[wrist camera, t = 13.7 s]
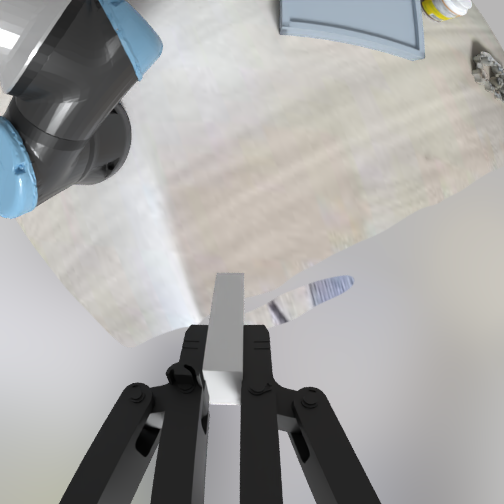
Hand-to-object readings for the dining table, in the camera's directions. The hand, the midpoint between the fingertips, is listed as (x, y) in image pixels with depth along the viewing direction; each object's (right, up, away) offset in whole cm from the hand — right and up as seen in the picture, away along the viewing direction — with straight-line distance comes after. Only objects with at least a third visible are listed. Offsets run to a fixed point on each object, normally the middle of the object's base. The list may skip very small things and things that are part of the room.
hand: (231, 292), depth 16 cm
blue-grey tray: (+16, +40, +11) cm, 44 cm away
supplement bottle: (+32, +45, +9) cm, 56 cm away
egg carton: (+47, +37, +13) cm, 61 cm away
